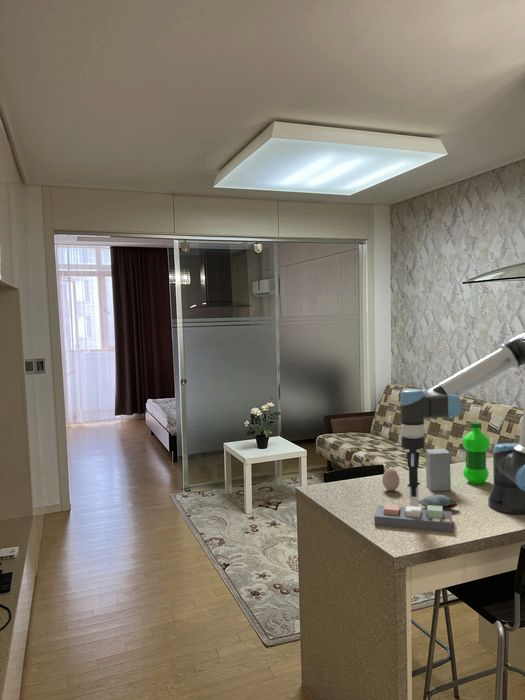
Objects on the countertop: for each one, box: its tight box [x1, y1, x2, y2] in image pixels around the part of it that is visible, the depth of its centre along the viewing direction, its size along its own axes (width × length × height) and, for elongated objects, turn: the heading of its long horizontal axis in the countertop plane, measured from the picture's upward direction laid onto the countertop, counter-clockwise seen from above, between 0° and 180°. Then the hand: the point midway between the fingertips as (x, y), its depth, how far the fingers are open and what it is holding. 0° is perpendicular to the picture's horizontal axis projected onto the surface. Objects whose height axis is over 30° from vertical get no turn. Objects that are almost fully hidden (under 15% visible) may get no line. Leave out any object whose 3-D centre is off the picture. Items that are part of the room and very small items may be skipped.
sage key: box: [426, 505, 444, 519], centre depth 177 cm, size 5×5×4 cm
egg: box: [381, 467, 400, 492], centre depth 212 cm, size 7×7×9 cm
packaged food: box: [418, 494, 458, 511], centre depth 192 cm, size 9×12×5 cm
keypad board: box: [373, 504, 453, 533], centre depth 179 cm, size 25×11×3 cm, turn 72°
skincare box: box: [425, 448, 452, 492], centre depth 213 cm, size 8×7×16 cm
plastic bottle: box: [462, 421, 490, 485], centre depth 220 cm, size 10×10×25 cm
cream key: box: [405, 505, 422, 517], centre depth 179 cm, size 5×5×4 cm
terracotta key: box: [384, 504, 401, 515], centre depth 181 cm, size 5×5×4 cm
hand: (414, 504), depth 179 cm, fingers closed
